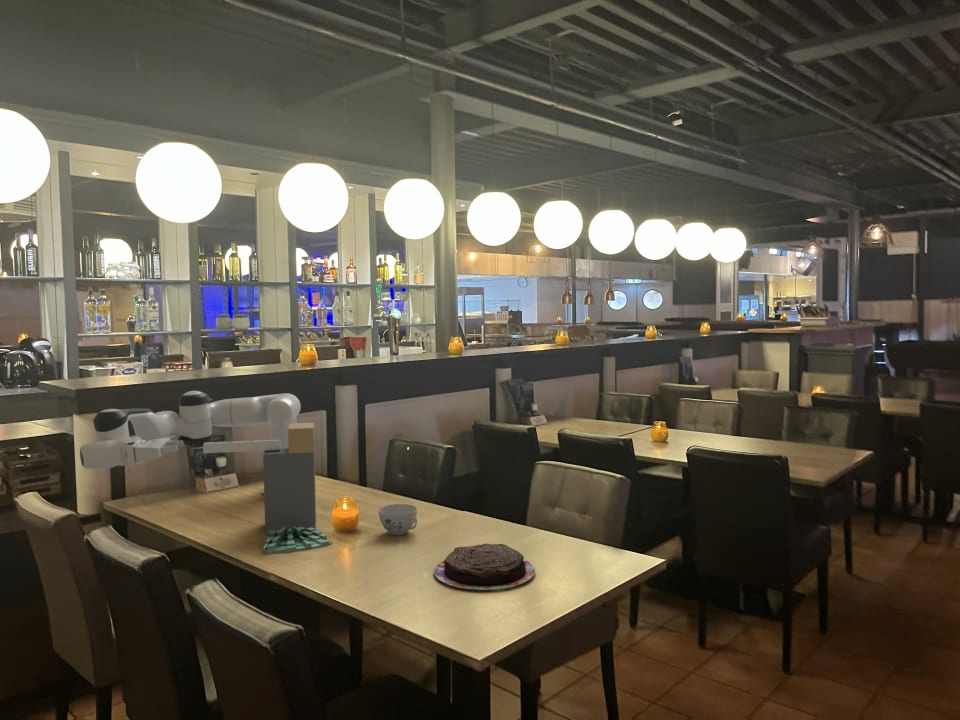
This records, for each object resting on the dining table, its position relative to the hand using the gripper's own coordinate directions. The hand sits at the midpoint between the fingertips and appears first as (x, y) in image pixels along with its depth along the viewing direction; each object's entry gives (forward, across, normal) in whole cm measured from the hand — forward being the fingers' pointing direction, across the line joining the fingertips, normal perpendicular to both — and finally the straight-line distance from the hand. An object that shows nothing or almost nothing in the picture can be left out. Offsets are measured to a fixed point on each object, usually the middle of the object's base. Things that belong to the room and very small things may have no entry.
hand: (180, 445), depth 240 cm
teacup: (+67, +18, -34) cm, 77 cm away
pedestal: (+32, +1, -31) cm, 45 cm away
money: (+32, +22, -32) cm, 51 cm away
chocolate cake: (+85, +59, -37) cm, 110 cm away
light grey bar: (+19, +2, -4) cm, 20 cm away
